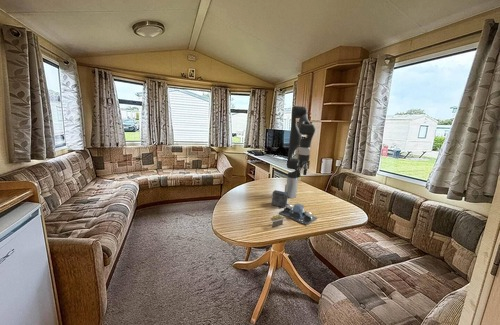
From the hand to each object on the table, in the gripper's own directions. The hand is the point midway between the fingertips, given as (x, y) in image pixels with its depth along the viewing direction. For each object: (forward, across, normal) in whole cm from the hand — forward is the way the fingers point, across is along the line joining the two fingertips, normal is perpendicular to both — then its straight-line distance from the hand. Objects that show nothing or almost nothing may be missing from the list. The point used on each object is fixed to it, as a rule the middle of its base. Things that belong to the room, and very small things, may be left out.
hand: (301, 176), depth 151 cm
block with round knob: (+25, -9, -6) cm, 27 cm away
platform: (+26, -31, -4) cm, 40 cm away
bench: (+26, -9, -6) cm, 28 cm away
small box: (+27, -4, +14) cm, 30 cm away
